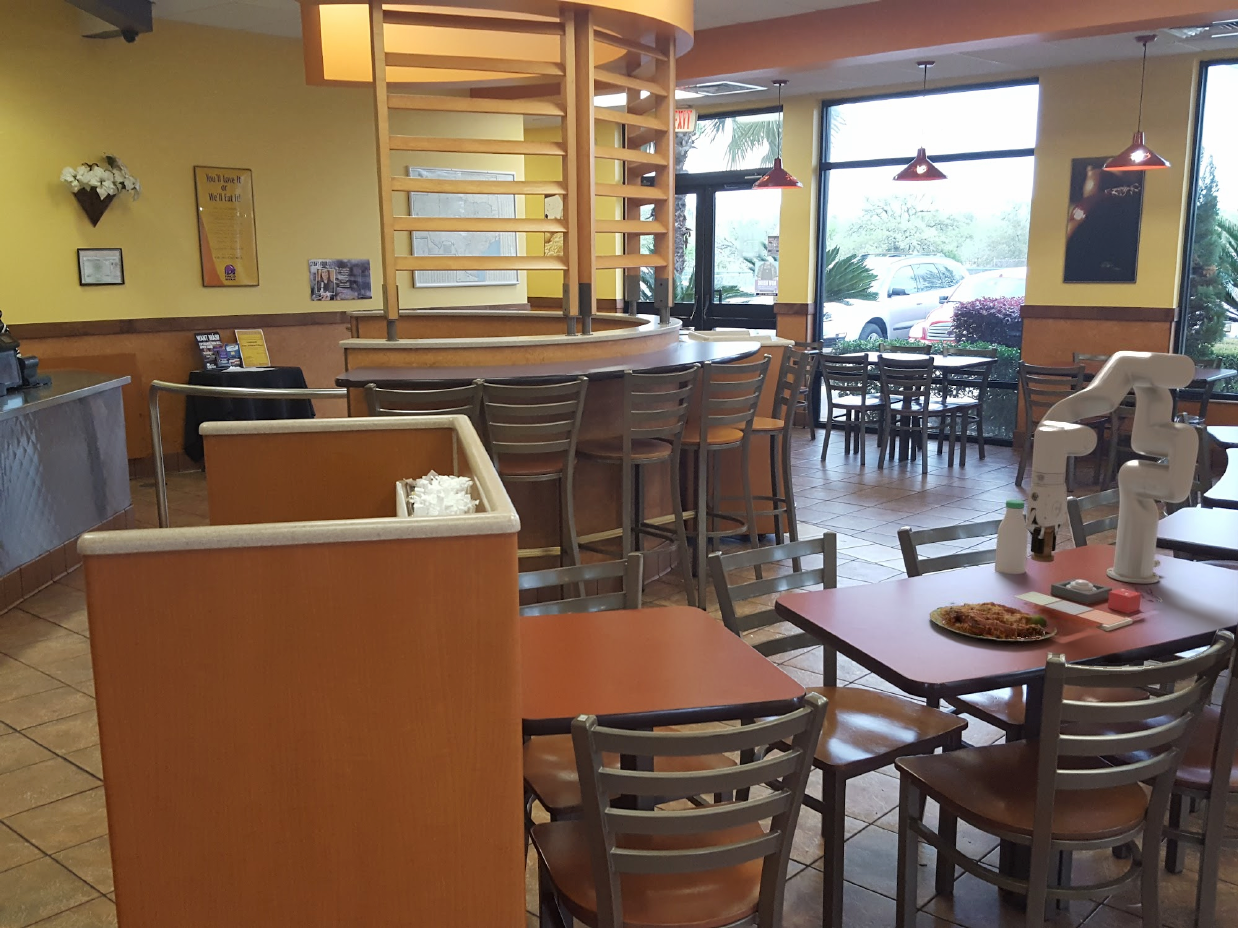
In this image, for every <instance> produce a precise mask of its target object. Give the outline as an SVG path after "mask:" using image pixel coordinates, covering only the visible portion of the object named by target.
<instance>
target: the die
mask: <svg viewBox="0 0 1238 928" xmlns="http://www.w3.org/2000/svg"><path fill="white" fill-rule="evenodd" d="M1141 598H1142V594H1141V593H1140V592H1136V591H1132V590H1128V589H1125V588H1121V587H1120V588H1117V589H1115V590H1112V591H1110V592H1109V598H1108V599H1107V608H1108V609H1111V610H1115V611H1118V612H1122V613H1126V614H1129V613H1132V612H1135V611H1139V610H1140V605H1141ZM1136 615H1139V613H1135V614H1132V615H1130V616H1128V618H1130V617H1133V616H1136Z"/></svg>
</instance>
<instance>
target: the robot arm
mask: <svg viewBox="0 0 1238 928" xmlns="http://www.w3.org/2000/svg"><path fill="white" fill-rule="evenodd" d="M1195 374H1196V366H1195V363H1194V361H1193V360H1192V358H1190V357H1189V356H1188V355H1185V354H1180V353H1179V354H1178V353H1165V352H1164V353H1163V352H1154V351H1133V350H1122V351H1121V350H1120V351H1116V352H1115V353H1113V354H1112V355H1111V356H1109V358H1108V360H1107V361H1106V362H1105V363H1104V365H1103V366H1102V367H1101V368H1100V369H1099V371H1098V372H1097V373H1096V375H1095V376H1094V378H1092V380H1091V381H1090V383H1089V384H1088V385H1087V387H1085V388H1084V389H1082V390H1080V391H1078V392H1076V393H1074V394H1071V395H1070V396H1068V397H1065V398H1064V399H1062V400H1060V401H1058V402H1056V403H1055V404H1054V405H1053V406H1052V407H1051V408H1049V410H1047V412H1046V414H1045V415H1043V418H1042V419H1041V420H1040V422H1039V423H1038V425H1037V427H1036V430H1035V431H1034V436H1033V437H1034V438H1033V450H1032V451H1033V452H1032V465H1031V467H1032V468H1031V479H1030V480H1031V481H1030V483H1031V485H1030V488H1029V492H1028V498H1027V499H1028V500H1027V505H1026V506H1027V507H1026V526H1025V528H1026V529H1027V530H1028V533H1029V534H1030V537H1031V542H1030V552H1031V553H1037V554H1041V555H1042V554H1043V553H1044V541H1045V539H1044V538H1043V534H1044V529H1045V527H1050V526H1054V525H1055V527H1054V530H1053V543H1052V552H1055V551H1056V547H1057V546H1056V545H1057V535H1058V534H1059V529H1060V528H1061V525H1062V524H1063V523H1065V522H1066V521H1067V514H1068V513H1067V512H1068V491H1067V484H1066V473H1067V472H1066V471H1067V457H1069V456H1071V457H1072V456H1073V457H1074V456H1075V457H1082V456H1086V455H1089V454H1090V453H1091V452H1093V451H1094V450H1095V449H1096V446H1097V443H1098V435H1097V434H1096V432H1095V430H1094V429H1093V428H1091V427H1089V426H1088V425H1083V424H1077V423H1074V422H1077V421H1079V420H1082V419H1086V418H1092V417H1097V416H1101V415H1105V414H1109V413H1111V412H1113V411H1115V410H1116V409H1117V408H1118V406H1120V404H1121V402H1122V401H1123V400H1124V399H1125V397H1126V396H1127V395H1128V393H1129V392H1130V390H1132V389H1133V391H1134V395H1135V398H1136V399H1135V400H1136V404H1135V405H1136V406H1135V411H1134V412H1135V414H1134V419H1133V425H1132V430H1131V431H1132V432H1131V440H1130V446H1131V449H1132V450H1133V451H1134V452H1135V453H1136V454H1139V455H1143V456H1147V457H1155V458H1160V459H1161V458H1162V459H1165V460H1168V463H1163V462H1162V463H1161V462H1157V461H1152V460H1145V459H1132V460H1129V461H1126V462H1124V464H1123V465H1122V466H1120V468H1119V471H1118V477H1117V479H1118V483H1117V484H1118V490H1119V509H1118V520H1117V531H1116V540H1115V549H1114V551H1115V553H1114V560H1113V567H1109V568H1107V570H1106V576H1108V577H1109V578H1111V579H1114V580H1117V581H1121V582H1125V583H1126V582H1127V583H1131V584H1144V585H1145V584H1155V583H1157V582H1159V580H1160V576H1159V575H1158V573H1156V572H1154V569H1155V568H1157V567H1160V566H1161V561H1160V560H1159V559H1155V555H1156V547H1157V541H1158V540H1157V537H1158V530H1159V529H1158V528H1159V520H1160V514H1159V509H1158V505H1157V504H1156V502H1155V501H1161V502H1166V503H1167V502H1168V503H1173V504H1179V503H1182V502H1184V501H1186V499H1187V498H1188V497H1189V495H1190V493H1191V490H1192V486H1193V481H1194V475H1195V470H1196V464H1197V458H1198V455H1199V454H1198V453H1199V447H1200V446H1199V444H1200V443H1199V442H1200V441H1199V434H1198V431H1197V430H1196V429H1195V428H1194V426H1192V425H1190V424H1187V423H1183V422H1173V421H1172V415H1173V414H1172V413H1173V406H1174V400H1173V397H1172V394H1171V392H1170V390H1169V389H1173V390H1175V389H1178V390H1179V389H1184V388H1185V387H1187V386H1189V384H1191V382H1192V381H1193V379H1194V377H1195ZM1037 522H1038V524H1037ZM1036 527H1039V528H1040V530H1039V531H1038V529H1037V528H1036Z"/></svg>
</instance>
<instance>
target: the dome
mask: <svg viewBox="0 0 1238 928" xmlns="http://www.w3.org/2000/svg"><path fill="white" fill-rule="evenodd" d="M1089 582H1090V581H1088V580H1085V579H1080V580H1075V581H1073V582H1071V583H1070V584H1069V585H1067V586H1066V587H1068V588H1072V589H1075V590H1079V591H1082V592H1086V593H1088V592H1091V591H1095V590H1097V589H1096V588H1094V587H1093V585H1092V584H1091V583H1092V582H1091V583H1089Z"/></svg>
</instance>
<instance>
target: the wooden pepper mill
mask: <svg viewBox="0 0 1238 928" xmlns="http://www.w3.org/2000/svg"><path fill="white" fill-rule="evenodd" d="M1037 524H1038V522H1037ZM1054 527H1055V525H1054V526H1050V527H1045V529H1044V534H1043V538H1044V539H1045V541H1044V553H1043V554H1042V555H1041V554H1037V553H1033V552H1031V554H1030V559H1031V560H1032V561H1035V562H1038V563H1039V562H1040V563H1052V562H1054V560H1055V555H1054V554H1052V553H1053V551H1052V543H1053V530H1054ZM1036 528H1037V529H1038V531H1039V530H1040V528H1039V527H1036Z"/></svg>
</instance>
